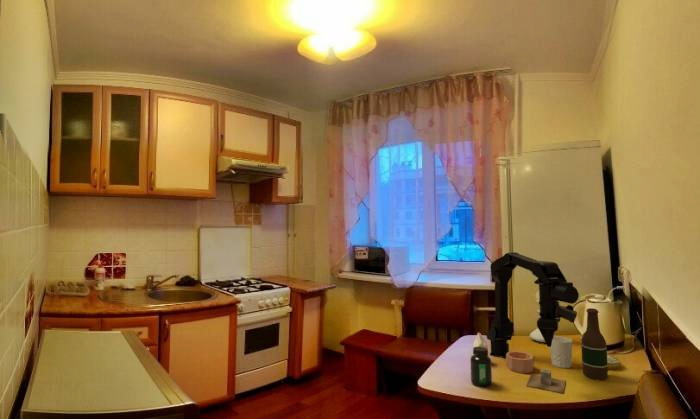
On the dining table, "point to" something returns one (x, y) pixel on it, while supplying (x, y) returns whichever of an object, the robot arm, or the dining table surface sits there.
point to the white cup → (561, 352)
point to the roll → (480, 342)
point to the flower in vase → (536, 333)
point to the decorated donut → (613, 362)
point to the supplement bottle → (481, 368)
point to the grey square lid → (546, 382)
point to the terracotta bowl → (519, 362)
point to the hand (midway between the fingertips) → (550, 342)
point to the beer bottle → (594, 349)
